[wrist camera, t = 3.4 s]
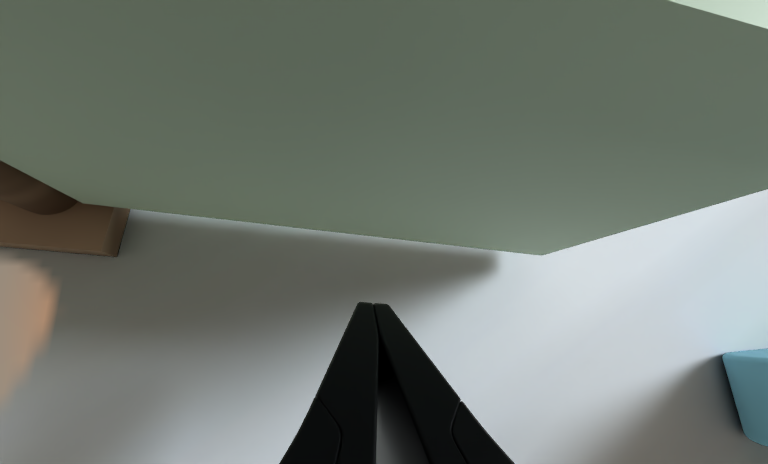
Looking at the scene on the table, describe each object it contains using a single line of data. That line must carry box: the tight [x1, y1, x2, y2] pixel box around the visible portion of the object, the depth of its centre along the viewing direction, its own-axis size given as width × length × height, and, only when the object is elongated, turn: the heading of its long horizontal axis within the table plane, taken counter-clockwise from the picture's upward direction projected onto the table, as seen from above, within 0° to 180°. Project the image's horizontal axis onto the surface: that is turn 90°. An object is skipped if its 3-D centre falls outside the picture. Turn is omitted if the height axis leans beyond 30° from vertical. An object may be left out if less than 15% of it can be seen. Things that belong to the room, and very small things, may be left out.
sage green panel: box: [0, 0, 768, 255], centre depth 10 cm, size 3×22×13 cm, turn 87°
